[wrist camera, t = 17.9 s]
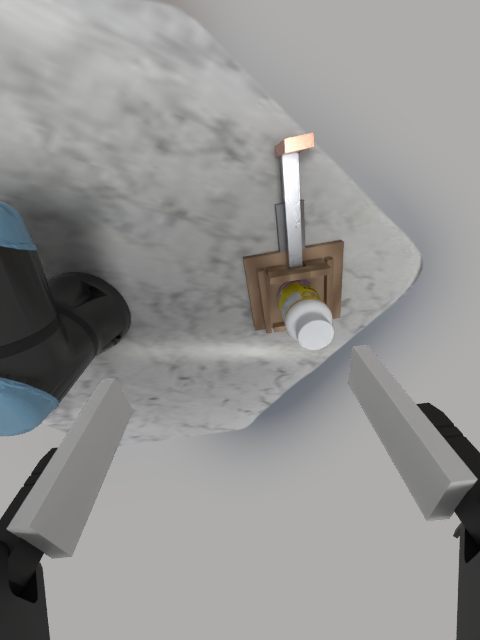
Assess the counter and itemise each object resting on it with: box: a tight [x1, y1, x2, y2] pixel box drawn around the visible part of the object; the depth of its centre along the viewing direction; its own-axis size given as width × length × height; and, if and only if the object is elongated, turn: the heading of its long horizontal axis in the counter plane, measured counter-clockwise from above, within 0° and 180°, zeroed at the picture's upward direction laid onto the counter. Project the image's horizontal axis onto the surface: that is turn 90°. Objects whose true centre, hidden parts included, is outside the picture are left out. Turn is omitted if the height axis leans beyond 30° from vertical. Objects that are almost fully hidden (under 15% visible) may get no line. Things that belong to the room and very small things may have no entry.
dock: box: [243, 200, 344, 333], centre depth 38 cm, size 16×21×6 cm
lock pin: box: [275, 133, 314, 268], centre depth 32 cm, size 3×16×7 cm, turn 10°
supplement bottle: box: [277, 279, 334, 350], centre depth 37 cm, size 7×7×13 cm
